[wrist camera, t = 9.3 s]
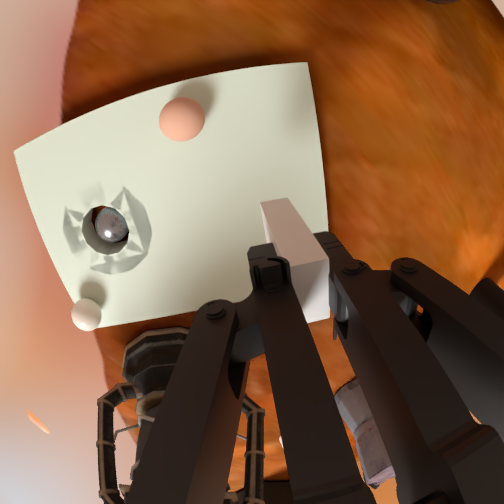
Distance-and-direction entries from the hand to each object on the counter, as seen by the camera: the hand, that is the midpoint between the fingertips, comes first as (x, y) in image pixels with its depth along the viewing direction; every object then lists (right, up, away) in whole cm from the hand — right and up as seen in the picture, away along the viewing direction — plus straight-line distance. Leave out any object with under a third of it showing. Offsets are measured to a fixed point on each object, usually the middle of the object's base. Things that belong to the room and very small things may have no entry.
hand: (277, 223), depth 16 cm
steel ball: (-14, +1, +7) cm, 15 cm away
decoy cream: (-17, -8, +8) cm, 21 cm away
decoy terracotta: (-6, +8, +2) cm, 10 cm away
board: (-8, +3, +9) cm, 13 cm away
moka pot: (+17, -26, +28) cm, 41 cm away
